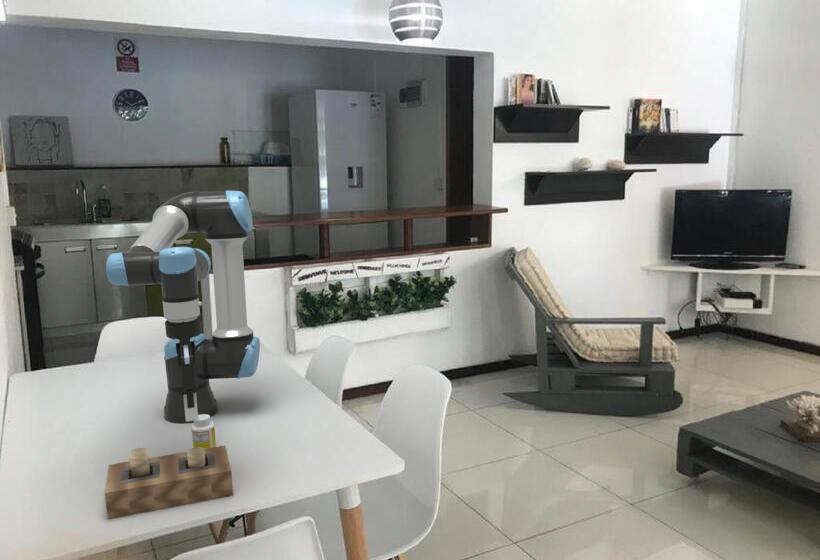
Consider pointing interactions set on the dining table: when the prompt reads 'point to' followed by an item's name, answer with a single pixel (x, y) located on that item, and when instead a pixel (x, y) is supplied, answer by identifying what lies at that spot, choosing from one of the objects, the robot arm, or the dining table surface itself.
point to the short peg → (196, 457)
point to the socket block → (167, 483)
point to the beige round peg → (139, 463)
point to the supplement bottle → (203, 432)
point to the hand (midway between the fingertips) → (191, 419)
